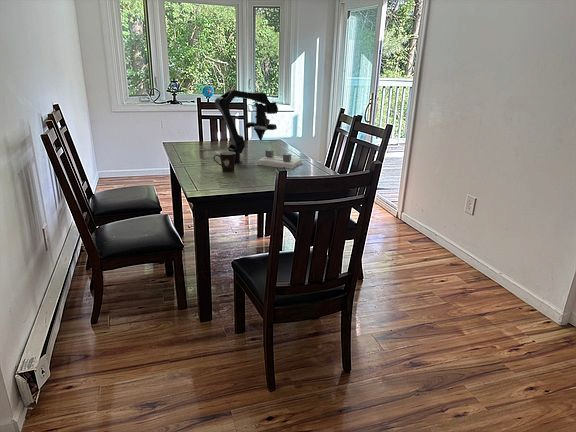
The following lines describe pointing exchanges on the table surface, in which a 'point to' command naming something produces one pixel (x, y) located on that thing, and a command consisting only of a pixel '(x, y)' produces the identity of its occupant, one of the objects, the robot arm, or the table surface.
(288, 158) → the fader front
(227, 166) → the coffee mug
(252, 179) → the table surface
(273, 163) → the console
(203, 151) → the table surface
